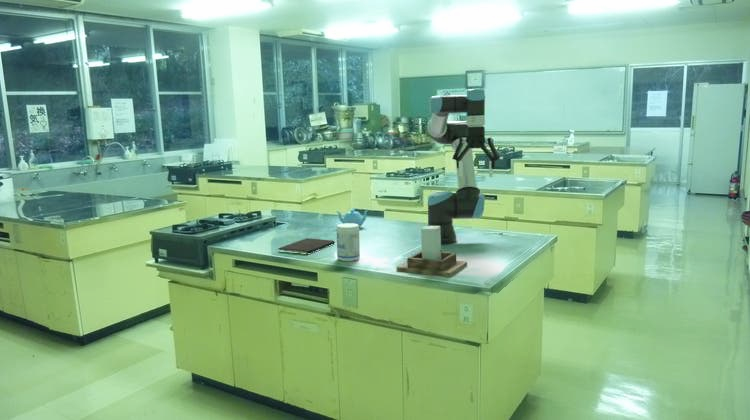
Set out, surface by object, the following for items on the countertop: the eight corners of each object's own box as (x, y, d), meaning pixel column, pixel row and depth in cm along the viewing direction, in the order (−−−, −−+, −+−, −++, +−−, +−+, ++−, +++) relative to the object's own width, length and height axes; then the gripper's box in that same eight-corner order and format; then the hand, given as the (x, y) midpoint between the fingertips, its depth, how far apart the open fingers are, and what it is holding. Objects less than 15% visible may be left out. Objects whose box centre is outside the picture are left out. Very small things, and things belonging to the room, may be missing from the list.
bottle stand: (396, 270, 209) (396, 258, 208) (416, 259, 224) (416, 248, 224) (449, 277, 198) (449, 264, 197) (467, 265, 213) (467, 253, 213)
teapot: (369, 227, 296) (369, 209, 295) (351, 231, 288) (350, 212, 286) (354, 224, 306) (353, 207, 304) (336, 228, 297) (335, 210, 295)
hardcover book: (278, 253, 246) (278, 248, 246) (307, 242, 266) (306, 238, 266) (307, 256, 239) (307, 251, 238) (334, 245, 259) (334, 240, 258)
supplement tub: (332, 259, 229) (331, 225, 226) (348, 255, 236) (346, 222, 233) (349, 263, 222) (348, 228, 220) (364, 258, 230) (363, 224, 227)
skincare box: (436, 267, 206) (436, 229, 204) (421, 266, 208) (420, 228, 206) (441, 262, 214) (441, 225, 212) (427, 261, 216) (426, 224, 214)
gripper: (444, 127, 231) (445, 176, 235) (501, 125, 219) (501, 178, 222) (451, 126, 238) (451, 174, 241) (507, 125, 225) (506, 176, 229)
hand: (475, 176), depth 232 cm, fingers open, 13 cm apart
